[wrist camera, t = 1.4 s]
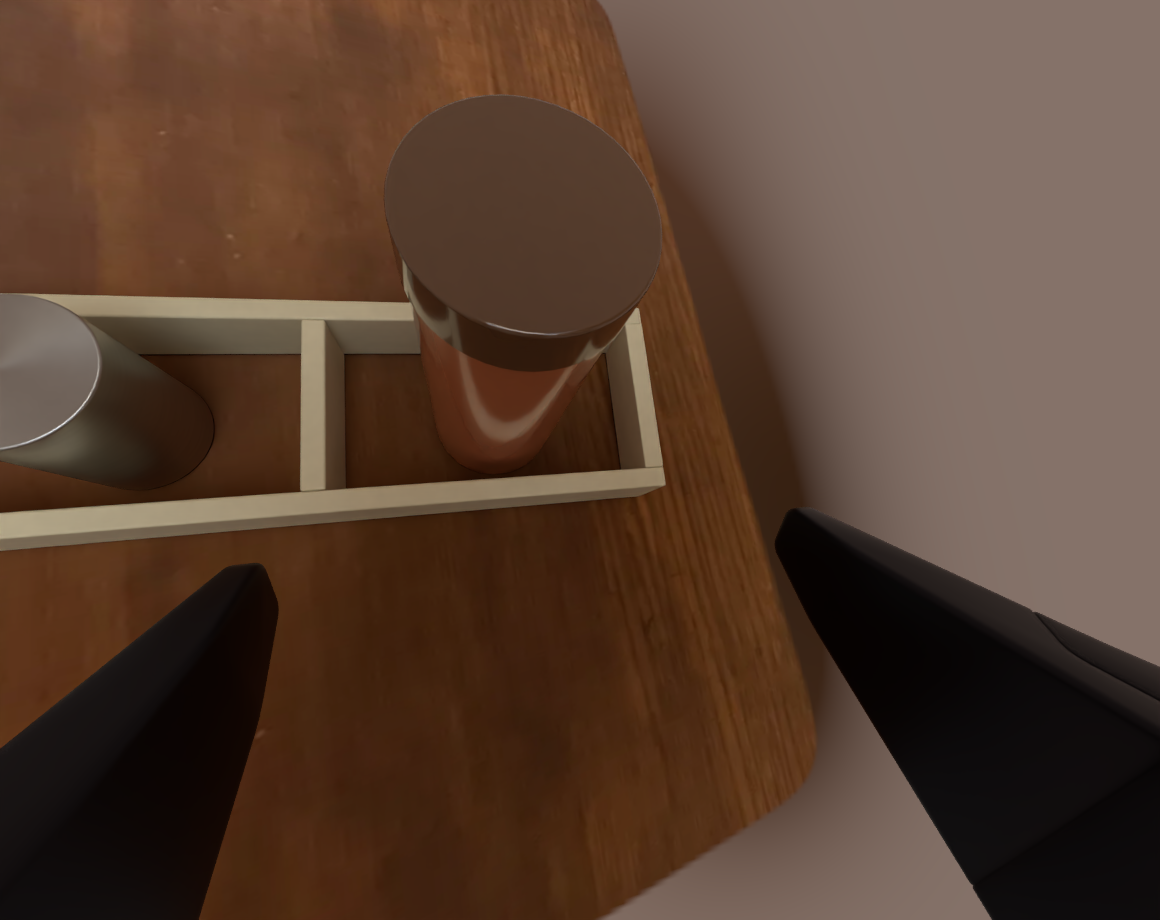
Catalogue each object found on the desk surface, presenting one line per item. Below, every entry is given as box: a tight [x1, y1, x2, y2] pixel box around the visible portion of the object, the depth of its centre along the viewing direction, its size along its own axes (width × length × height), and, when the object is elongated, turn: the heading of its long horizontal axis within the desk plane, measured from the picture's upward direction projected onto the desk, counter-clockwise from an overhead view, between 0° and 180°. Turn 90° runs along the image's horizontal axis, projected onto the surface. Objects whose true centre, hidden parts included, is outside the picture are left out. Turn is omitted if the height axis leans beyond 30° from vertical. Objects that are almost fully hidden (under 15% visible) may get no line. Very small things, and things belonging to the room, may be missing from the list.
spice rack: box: [0, 293, 665, 551], centre depth 18 cm, size 26×8×3 cm, turn 97°
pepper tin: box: [0, 294, 214, 490], centre depth 15 cm, size 4×4×6 cm
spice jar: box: [384, 95, 662, 474], centre depth 15 cm, size 5×5×13 cm
